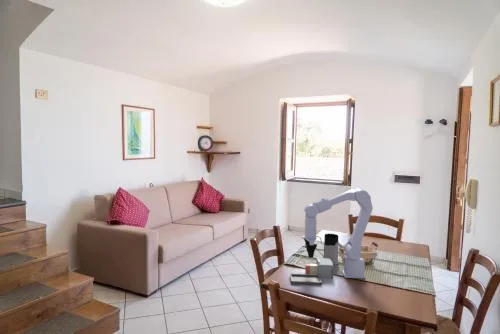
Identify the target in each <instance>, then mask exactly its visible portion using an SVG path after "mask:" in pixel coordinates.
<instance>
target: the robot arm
mask: <svg viewBox="0 0 500 334" xmlns="http://www.w3.org/2000/svg"><path fill="white" fill-rule="evenodd" d="M371 198H372V197H371V195H370V194H369V192H368V191H366V190H364V189H363V188H361V187H355V188H353V189H349V190H347V191H345V192H342V193H340V194H338V195H335V196H333V197H331V198H324V197H322V198H320V200H318V201H313V202H312V203H308V204H306V206H305V208H303V209H304V213H305V216H304V235H302V239H303V240H304V243H305V247H306V253H307V255H308V258H314V255H315V251H316V248H317V247H318V243H315V241H316V240H317V238H318V237H316V236H317V220H318V219H317V215H318V214H321V213H323V212H326V211H329V210H331V209H332V207H333V206H334V205H337V204H340V203H343V202H345V201H352V202H355V201H356V202H357V204H358V206H359V207H360V210H359V213H358V217H357V219H356V222H355V224H354V228H353V230H352V233H351V236H350V238H349V239H348V241H347V242H346V243H345V244H344V246H343V249H344V252H345V255H344V263H343V264H344V267H343V270H341V273H342V274H343V276H344V278H346V279H347V278H348V279H365V271H366V269H365V267H366V265H365V264H366V263H365V259H364V258H363V257H361V255H362V251H361V250H362V248H363V247H362V241H363V237H364V235H365V232H366V229H367V226H368V223H369V221H370V217H371V214H372V213H373V208H374V207H373V203H372V200H371Z"/></svg>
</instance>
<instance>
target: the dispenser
mask: <svg viewBox="0 0 500 334" xmlns="http://www.w3.org/2000/svg"><path fill="white" fill-rule="evenodd" d="M315 264H318V275H319V276H320V279H321V278H325V279H334V265H333V263H332V261H331V259H330V258H323V257H316V263H315Z"/></svg>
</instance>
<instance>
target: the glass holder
mask: <svg viewBox="0 0 500 334" xmlns="http://www.w3.org/2000/svg"><path fill="white" fill-rule="evenodd" d="M316 237H317V238H319V239H320V244H321V245H323V253H322V252H321V251H319V249H318V248H317V247H316V249H315V251H317V252H318V253H319V254H320V255H322V258H330V259H331V261H332V263H333V264H335V265H339V235H338V234H335V233H325V234H324V238H323V239H324V240H323V241H324V243H322V238H321V236H318V235H316Z"/></svg>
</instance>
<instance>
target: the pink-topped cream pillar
mask: <svg viewBox="0 0 500 334" xmlns="http://www.w3.org/2000/svg"><path fill="white" fill-rule="evenodd" d="M304 274H317V275H318V264H316V263H305V271H304Z"/></svg>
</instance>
